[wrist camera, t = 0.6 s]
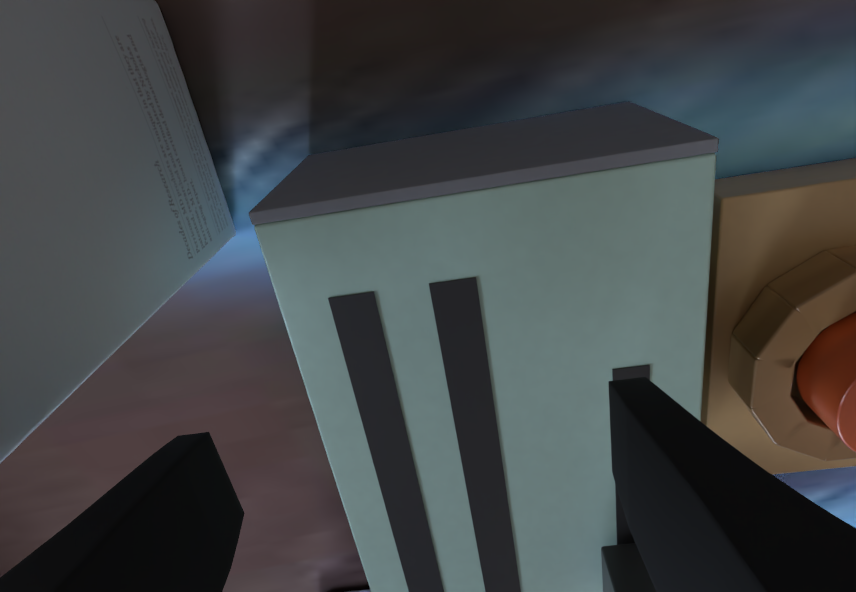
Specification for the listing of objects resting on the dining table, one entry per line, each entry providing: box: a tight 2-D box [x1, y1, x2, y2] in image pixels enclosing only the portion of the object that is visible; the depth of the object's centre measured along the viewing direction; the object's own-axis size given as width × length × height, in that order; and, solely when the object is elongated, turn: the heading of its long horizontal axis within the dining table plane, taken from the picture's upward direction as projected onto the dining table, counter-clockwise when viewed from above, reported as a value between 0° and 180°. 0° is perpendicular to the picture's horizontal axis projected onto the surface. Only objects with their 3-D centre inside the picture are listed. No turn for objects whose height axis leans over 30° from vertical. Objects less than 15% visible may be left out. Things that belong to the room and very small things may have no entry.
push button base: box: [701, 158, 856, 474], centre depth 18 cm, size 11×8×4 cm
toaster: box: [249, 101, 719, 592], centre depth 18 cm, size 17×10×6 cm, turn 10°
